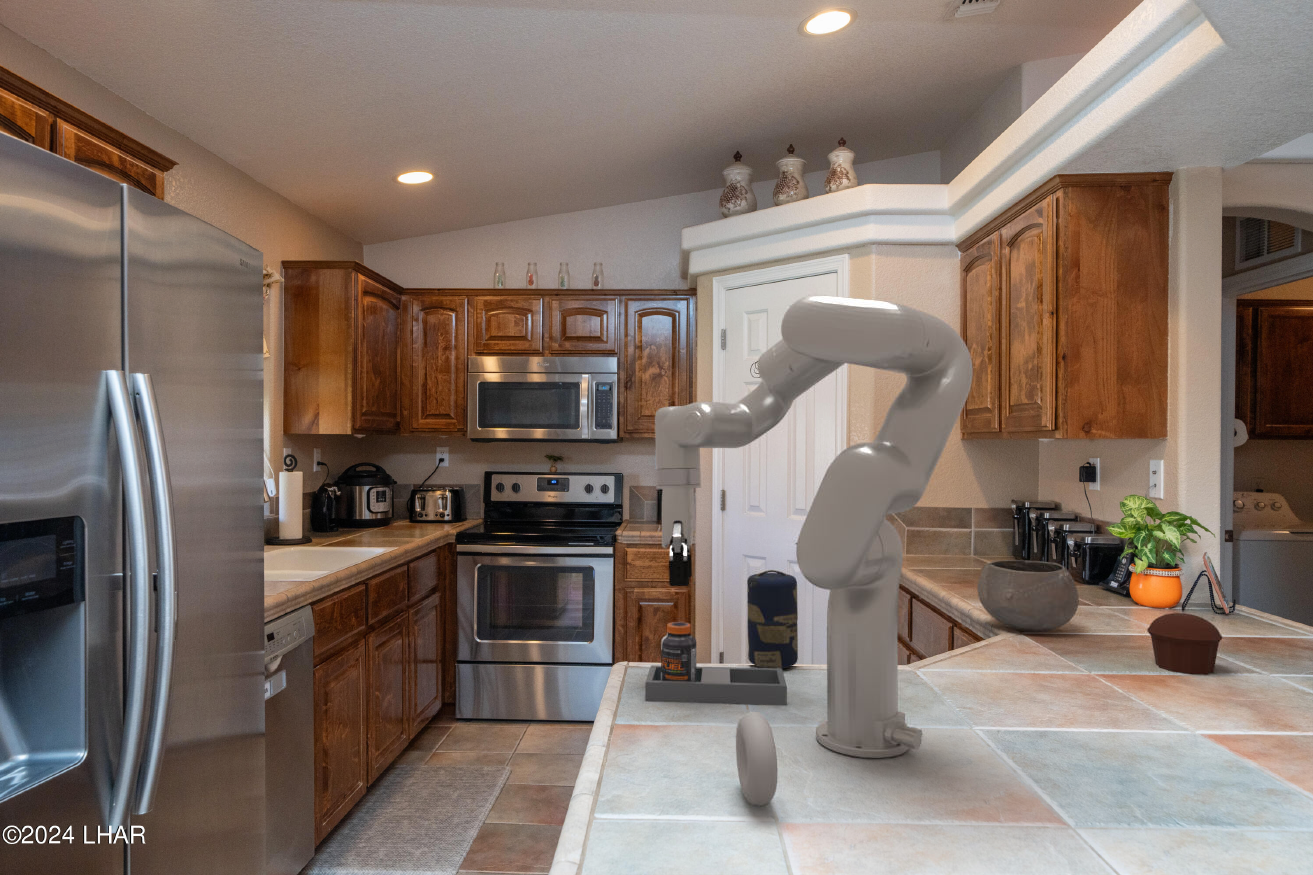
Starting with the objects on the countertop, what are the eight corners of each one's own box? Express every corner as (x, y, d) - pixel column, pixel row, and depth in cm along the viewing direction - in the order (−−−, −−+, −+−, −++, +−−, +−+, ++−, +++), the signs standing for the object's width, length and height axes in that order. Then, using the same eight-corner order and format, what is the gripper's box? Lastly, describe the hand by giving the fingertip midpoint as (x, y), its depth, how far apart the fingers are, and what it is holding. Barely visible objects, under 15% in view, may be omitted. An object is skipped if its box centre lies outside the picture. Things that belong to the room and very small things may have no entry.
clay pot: (1098, 639, 165) (1097, 570, 165) (1001, 639, 165) (1001, 569, 166) (1049, 618, 186) (1048, 557, 186) (964, 618, 186) (963, 557, 187)
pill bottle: (655, 694, 125) (655, 625, 126) (668, 684, 131) (668, 618, 131) (689, 698, 123) (689, 628, 124) (701, 688, 129) (701, 621, 129)
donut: (733, 783, 92) (733, 700, 92) (761, 782, 92) (760, 699, 92) (750, 823, 82) (750, 729, 82) (781, 821, 82) (781, 728, 82)
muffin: (1154, 672, 140) (1153, 618, 140) (1141, 657, 150) (1140, 607, 150) (1232, 679, 135) (1231, 623, 135) (1213, 664, 145) (1212, 611, 146)
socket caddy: (782, 686, 131) (781, 668, 131) (786, 704, 121) (786, 685, 121) (651, 682, 133) (651, 665, 133) (645, 700, 123) (645, 682, 123)
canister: (797, 673, 139) (797, 574, 139) (745, 670, 140) (745, 573, 141) (798, 659, 148) (797, 567, 148) (749, 657, 150) (749, 565, 150)
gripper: (660, 479, 137) (662, 574, 136) (651, 480, 120) (654, 589, 119) (702, 478, 137) (704, 574, 136) (699, 479, 119) (701, 589, 118)
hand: (681, 581), depth 127 cm, fingers open, 9 cm apart
